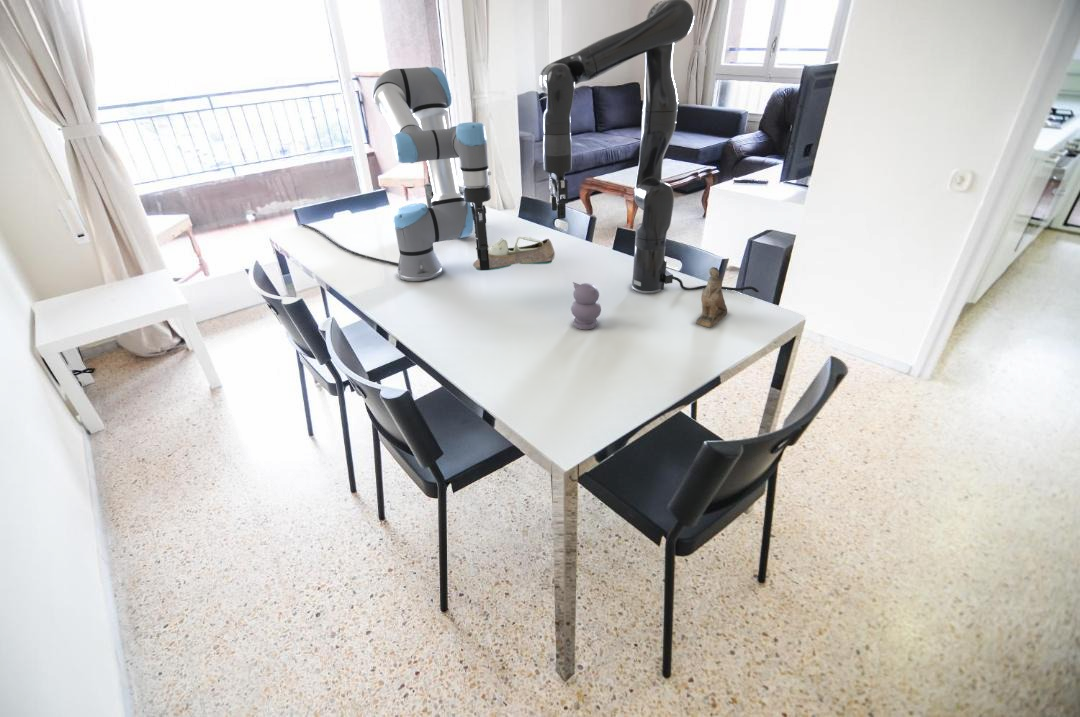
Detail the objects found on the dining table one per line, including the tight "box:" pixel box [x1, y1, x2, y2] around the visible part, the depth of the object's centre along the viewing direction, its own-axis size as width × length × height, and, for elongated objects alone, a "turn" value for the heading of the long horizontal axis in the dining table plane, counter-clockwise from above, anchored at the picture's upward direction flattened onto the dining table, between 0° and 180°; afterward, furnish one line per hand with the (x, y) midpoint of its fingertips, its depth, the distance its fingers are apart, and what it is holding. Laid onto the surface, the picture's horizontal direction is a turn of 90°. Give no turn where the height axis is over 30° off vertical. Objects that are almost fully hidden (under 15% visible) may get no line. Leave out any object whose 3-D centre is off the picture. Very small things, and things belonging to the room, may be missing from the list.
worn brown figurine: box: [695, 266, 728, 328], centre depth 135 cm, size 12×6×18 cm, turn 136°
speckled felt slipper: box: [472, 236, 556, 272], centre depth 147 cm, size 8×25×8 cm, turn 102°
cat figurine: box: [570, 281, 602, 331], centre depth 136 cm, size 8×8×12 cm
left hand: (483, 264), depth 148 cm, fingers closed on speckled felt slipper, 7 cm apart
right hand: (558, 214), depth 138 cm, fingers open, 8 cm apart
